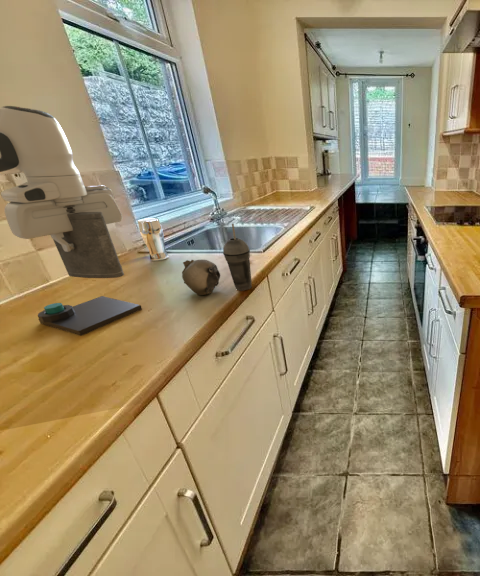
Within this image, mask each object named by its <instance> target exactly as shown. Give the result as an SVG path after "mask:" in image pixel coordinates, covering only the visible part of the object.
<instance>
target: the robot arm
mask: <svg viewBox="0 0 480 576" xmlns="http://www.w3.org/2000/svg"><path fill="white" fill-rule="evenodd" d="M61 126H62V125H60V123H59V121H58V120H57V119H56V118H55V116H53V115H52V114H50V113H48V112H46V111H43V110H40V109H35V108H27V107H22V106H15V105H4V106H1V107H0V175H14V174H15V175H16V174H17V175H18V174H24V176H25V179H26V182H23V183H20V184H18V185H15V186H12V187H10V188H7V189H4V190H2V191H1V192H0V196H1V198H2V199H3V201H5V202H8V203H7V204H5V206H4V214H5V219H6V221H7V224H8V227H9V229H10V231H11V233H12V234H13V235H14V236H15V237H17V238H19V239H23V240H30V239H36V238H41V237H42V238H43V237H47V236H50V237H51V239H52V240H53V239H54V240H55V241H57V242H58V243H60V244H61V245H62V247H63V250H64V251H66V252H69V251H73V250H75V247H74V244H73V243H69V242H68V243H67V242H66V241H65V240H63V239H62V238H63V237H64V235H63V232H68V231H73V228H72V225H71V223H70V220H69V218H68V216H67V214H73V213H69V212H67V211H66V210H67V208H63V207H65V206H67V205H75V207H73V209H74V208H75V210H76V211H73V212H75V213H79V212H102V215H103V217H104V220H105V223H106V225H110V224H115V223H120V222H122V220H123V214H122V211H121V209H120V207H119V205H118V203H117V202H116V200H115V195H114V192H113V190H112V189H111V188H109V187H107V186H105V185H103V184H98V185H87V186H85V184H84V181H83V178H82V175H81V173H80V171H79V169H78V168H77V167H76V165H75V163H74V154H73V151H72V148H71V146H70V143H69V140H68V138H67V136H66V134H65V132H64V130H63V128H62V127H61ZM54 240H53V241H54Z"/></svg>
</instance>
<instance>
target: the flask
mask: <svg viewBox="0 0 480 576" xmlns="http://www.w3.org/2000/svg"><path fill="white" fill-rule="evenodd" d="M73 207H75V205H67V206H65V207H63V208H67V210H66V211H67V212H69V213H73V214H67V216H68V218H69V220H70V223H71V225H72V228H73V231H68V232H63V235H64V237H63V238H62V239H63V240H65V241H66V242H67V243H68V242H69V243H73V244H74V247H75V250H73V251H69V252H66V251H64V250H63V247H62V245H61V244H60V243H58V242H57V241H55V240H54V239H53V238H52V240H53V242H54V245H55V247H56V249H57V251H58V254H59V256H60V259H61V261H62V263H63V266H64V267H65V270H66V272H67V275H68V276H69V277H73V278H81V279H116V278H117V279H118V278H121V277H123V276H125V273H124V270H123V268H122V264H121V262H120V259H119V257H118V254H117V251H116V248H115V245H114V243H113V239H112V236H111V234H110V231H109V229H108V226H107V224H106V223H105V220H104V217H103V215H102V212H79V213H75V212H73V211H76V210H75V208H74V209H73Z"/></svg>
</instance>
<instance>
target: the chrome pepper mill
mask: <svg viewBox="0 0 480 576" xmlns="http://www.w3.org/2000/svg"><path fill="white" fill-rule="evenodd" d="M137 225H138V230H139V233H140V236H141V239H142V240H143V242H144V244H145V246H146V247H147V250H148V253H149V260H150V261H154V262H155V261H162V260H167V259H169V257H170V255H169V253H168V252H167V250H166V245H165V237H164V235H165V234H164V230H163V228H162V224H161V222H160V219H159V218H157V217H151V218H149V217H148V218H142V219H138V220H137Z"/></svg>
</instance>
